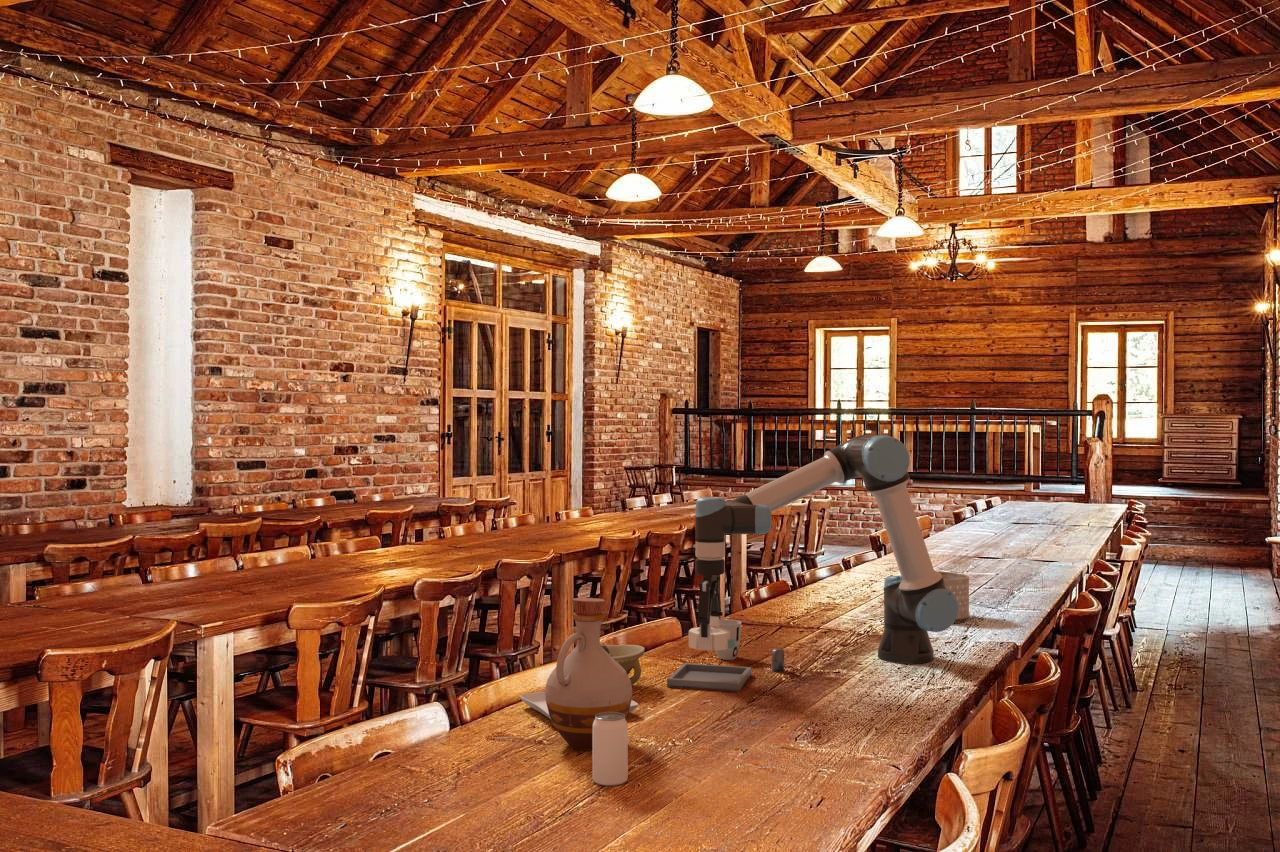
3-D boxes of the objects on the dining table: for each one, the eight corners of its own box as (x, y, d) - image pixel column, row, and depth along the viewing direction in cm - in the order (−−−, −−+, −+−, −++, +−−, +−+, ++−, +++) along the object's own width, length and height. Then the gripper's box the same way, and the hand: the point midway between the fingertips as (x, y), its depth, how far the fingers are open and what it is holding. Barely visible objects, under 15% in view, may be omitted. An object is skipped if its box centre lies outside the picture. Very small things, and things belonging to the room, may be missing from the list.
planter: (975, 617, 362) (975, 574, 361) (959, 626, 346) (959, 581, 346) (921, 611, 372) (921, 570, 371) (903, 620, 356) (903, 576, 356)
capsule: (785, 669, 286) (785, 648, 286) (783, 672, 283) (783, 651, 283) (773, 668, 287) (773, 648, 287) (771, 671, 284) (771, 650, 284)
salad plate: (553, 731, 231) (553, 715, 231) (517, 708, 250) (517, 693, 250) (641, 718, 241) (641, 703, 241) (600, 696, 260) (600, 682, 260)
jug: (595, 766, 206) (595, 610, 206) (521, 751, 216) (521, 602, 216) (648, 740, 223) (648, 595, 223) (578, 727, 233) (578, 588, 232)
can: (591, 775, 201) (591, 711, 201) (626, 774, 202) (626, 710, 202) (593, 787, 195) (593, 721, 195) (628, 786, 195) (628, 720, 195)
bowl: (656, 682, 273) (656, 644, 273) (625, 698, 257) (625, 658, 256) (594, 675, 280) (594, 638, 280) (561, 691, 264) (561, 652, 264)
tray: (751, 674, 280) (751, 667, 280) (738, 691, 263) (738, 683, 263) (683, 670, 285) (683, 663, 285) (667, 687, 268) (667, 679, 267)
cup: (739, 661, 295) (739, 625, 295) (710, 660, 297) (710, 624, 297) (742, 655, 303) (742, 620, 303) (714, 654, 305) (714, 619, 305)
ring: (694, 641, 280) (694, 625, 280) (738, 643, 277) (738, 628, 277) (685, 649, 270) (685, 633, 270) (730, 652, 267) (730, 635, 267)
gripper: (704, 552, 285) (704, 636, 286) (685, 563, 264) (684, 653, 264) (732, 553, 283) (732, 637, 283) (715, 564, 262) (714, 655, 262)
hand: (709, 645), depth 274 cm, fingers closed on ring, 10 cm apart
